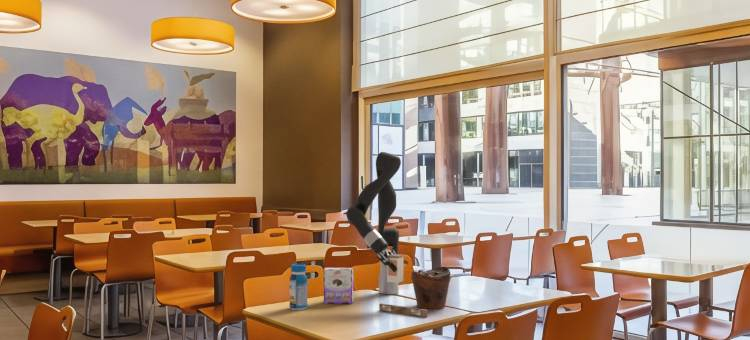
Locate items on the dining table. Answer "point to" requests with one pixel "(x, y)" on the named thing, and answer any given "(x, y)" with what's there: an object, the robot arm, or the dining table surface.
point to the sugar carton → (399, 263)
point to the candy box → (338, 285)
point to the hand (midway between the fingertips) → (398, 269)
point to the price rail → (403, 310)
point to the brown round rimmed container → (431, 287)
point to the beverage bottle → (298, 287)
